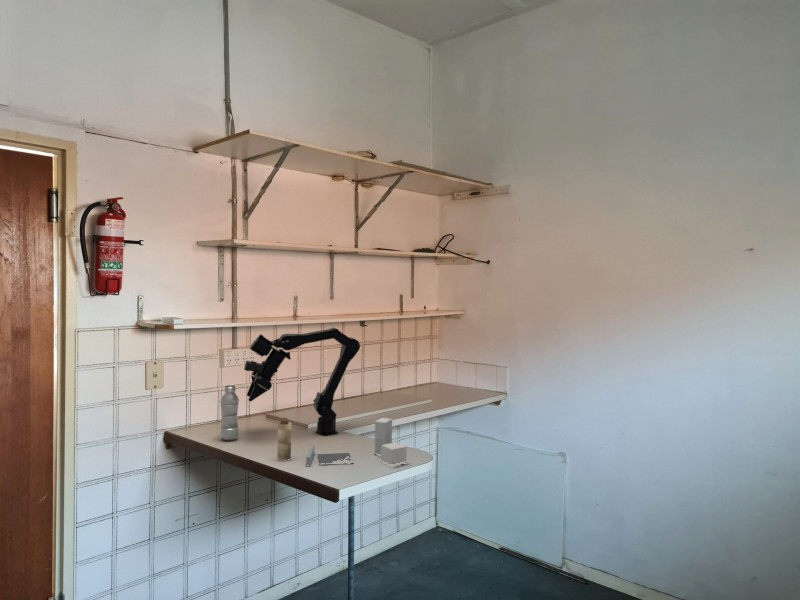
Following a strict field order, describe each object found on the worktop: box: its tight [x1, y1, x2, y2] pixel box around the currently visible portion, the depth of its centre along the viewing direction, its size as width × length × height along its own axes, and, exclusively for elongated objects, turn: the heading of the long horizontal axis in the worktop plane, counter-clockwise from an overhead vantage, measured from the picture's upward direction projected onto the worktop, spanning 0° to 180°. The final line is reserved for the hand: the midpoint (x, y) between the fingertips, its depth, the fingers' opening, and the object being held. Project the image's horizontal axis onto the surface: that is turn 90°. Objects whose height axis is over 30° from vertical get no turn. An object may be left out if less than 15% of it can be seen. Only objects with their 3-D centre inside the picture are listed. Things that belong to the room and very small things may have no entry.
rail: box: [305, 444, 316, 466], centre depth 195 cm, size 14×1×3 cm, turn 2°
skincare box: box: [374, 417, 393, 454], centre depth 203 cm, size 6×4×12 cm
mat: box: [316, 452, 352, 465], centre depth 196 cm, size 11×11×1 cm
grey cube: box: [380, 442, 407, 464], centre depth 194 cm, size 6×6×6 cm
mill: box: [276, 417, 292, 461], centre depth 195 cm, size 4×4×14 cm
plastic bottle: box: [219, 384, 240, 441], centre depth 216 cm, size 6×7×20 cm
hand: (248, 398), depth 219 cm, fingers open, 9 cm apart
